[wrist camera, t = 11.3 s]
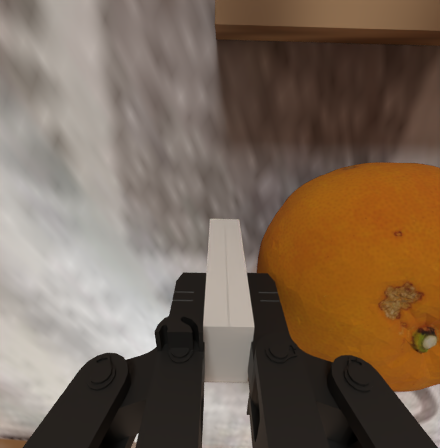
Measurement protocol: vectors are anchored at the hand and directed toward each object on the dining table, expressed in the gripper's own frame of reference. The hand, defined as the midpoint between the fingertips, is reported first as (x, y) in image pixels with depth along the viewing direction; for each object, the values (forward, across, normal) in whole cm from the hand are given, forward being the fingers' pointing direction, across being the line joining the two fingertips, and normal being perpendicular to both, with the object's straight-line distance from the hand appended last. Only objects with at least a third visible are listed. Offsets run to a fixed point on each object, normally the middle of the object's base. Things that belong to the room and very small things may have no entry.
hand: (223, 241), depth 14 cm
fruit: (+2, +7, 0) cm, 7 cm away
